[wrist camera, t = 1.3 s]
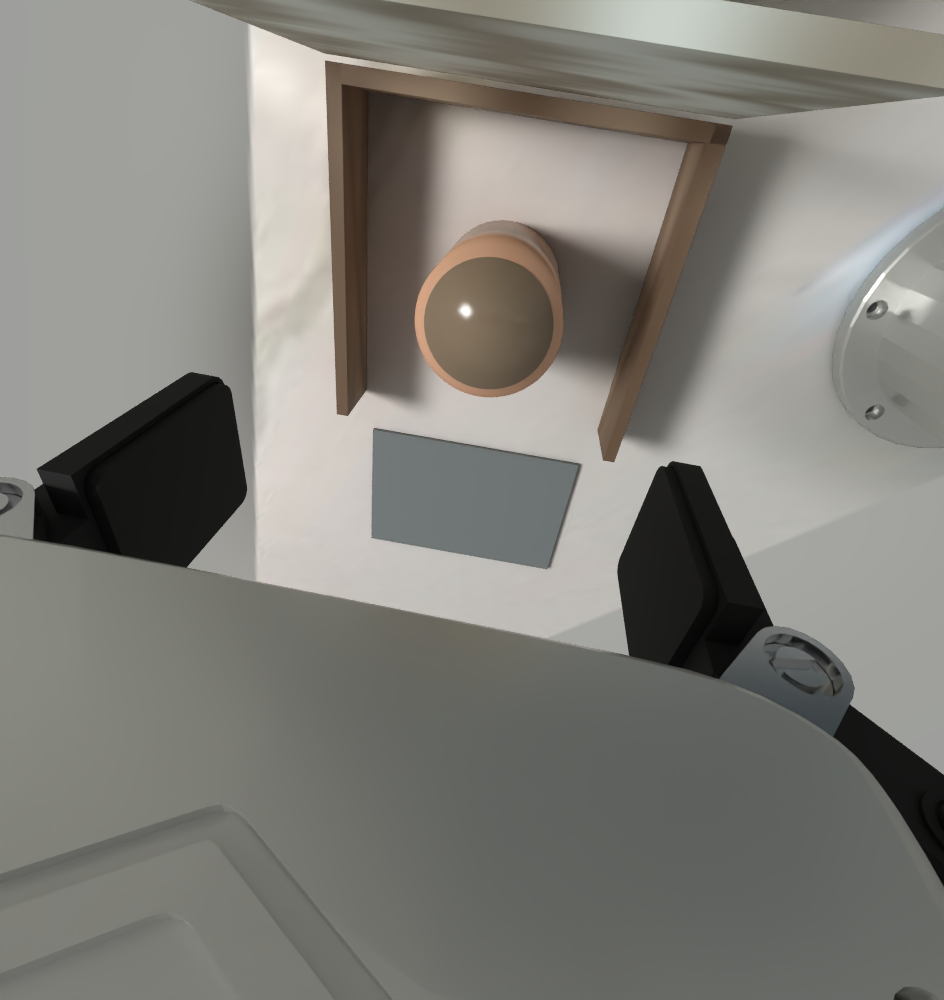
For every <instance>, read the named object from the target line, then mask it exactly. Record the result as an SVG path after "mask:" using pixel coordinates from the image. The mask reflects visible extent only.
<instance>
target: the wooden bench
mask: <svg viewBox="0 0 944 1000" xmlns="http://www.w3.org/2000/svg"><path fill="white" fill-rule="evenodd" d="M191 1H193V2H195V3H198V4H201V5H203V6H206V7H208V8H211V9H213V10H216V11H218V12H221V13H224V14H226V15H228V16H231V17H234V18H236V19H239V20H241V21H244V22H246V23H249V24H251V25H254V26H256V27H259V28H261V29H264V30H267V31H269V32H272V33H274V34H277V35H279V36H282V37H284V38H287V39H289V40H292V41H295V42H297V43H300V44H302V45H305V46H307V47H310V48H312V49H315V50H317V51H320V52H322V53H325V54H331V55H338V56H344V57H350V58H356V59H363V60H369V61H375V62H381V63H388V64H394V65H400V66H406V67H413V68H419V69H425V70H431V71H438V72H444V73H450V74H456V75H463V76H469V77H475V78H481V79H488V80H494V81H500V82H506V83H513V84H519V85H525V86H531V87H538V88H544V89H550V90H556V91H563V92H569V93H575V94H581V95H588V96H594V97H600V98H606V99H613V100H619V101H625V102H631V103H638V104H644V105H650V106H656V107H663V108H669V109H675V110H681V111H688V112H694V113H700V114H706V115H713V116H719V117H725V118H732V119H740V118H749V117H758V116H767V115H776V114H785V113H794V112H804V111H813V110H822V109H831V108H840V107H849V106H858V105H867V104H876V103H885V102H894V101H903V100H912V99H921V98H930V97H939V96H944V35H943V34H936V33H930V32H923V31H917V30H910V29H904V28H898V27H891V26H885V25H878V24H872V23H865V22H859V21H853V20H846V19H840V18H833V17H827V16H820V15H814V14H807V13H801V12H795V11H788V10H782V9H775V8H769V7H762V6H756V5H750V4H743V3H737V2H730V1H724V0H191ZM325 71H326V100H327V130H328V160H329V190H330V220H331V250H332V280H333V310H334V339H335V369H336V399H337V414H340V415H346V416H348V415H349V414H350V412H351V411H352V409H353V408H354V407H355V405H356V404H357V402H358V401H359V400H360V398H361V397H362V395H363V394H364V393H365V391H366V367H367V165H368V91H369V92H376V93H382V94H388V95H394V96H400V97H407V98H413V99H419V100H425V101H431V102H438V103H444V104H450V105H456V106H463V107H469V108H475V109H481V110H487V111H494V112H500V113H506V114H512V115H518V116H525V117H531V118H537V119H543V120H549V121H556V122H562V123H568V124H574V125H580V126H587V127H593V128H599V129H605V130H611V131H618V132H624V133H630V134H636V135H642V136H649V137H655V138H661V139H667V140H673V141H680V142H686V143H688V145H687V148H686V151H685V154H684V157H683V161H682V164H681V167H680V170H679V173H678V176H677V180H676V183H675V186H674V189H673V192H672V195H671V199H670V202H669V205H668V208H667V211H666V215H665V218H664V221H663V224H662V227H661V230H660V234H659V237H658V240H657V243H656V246H655V249H654V253H653V256H652V259H651V262H650V265H649V268H648V272H647V275H646V278H645V281H644V284H643V288H642V291H641V294H640V297H639V300H638V303H637V307H636V310H635V313H634V316H633V319H632V322H631V326H630V329H629V332H628V335H627V338H626V341H625V345H624V348H623V351H622V354H621V357H620V360H619V364H618V367H617V370H616V373H615V376H614V380H613V383H612V386H611V389H610V392H609V395H608V399H607V402H606V405H605V408H604V411H603V414H602V418H601V421H600V424H599V427H598V435H599V440H600V446H601V451H602V457H603V460H604V461H610V462H614V461H615V458H616V456H617V453H618V450H619V447H620V444H621V441H622V439H623V436H624V433H625V430H626V427H627V424H628V422H629V419H630V416H631V413H632V410H633V407H634V405H635V402H636V399H637V396H638V393H639V390H640V388H641V385H642V382H643V379H644V376H645V373H646V370H647V368H648V365H649V362H650V359H651V356H652V353H653V351H654V348H655V345H656V342H657V339H658V336H659V334H660V331H661V328H662V325H663V322H664V319H665V317H666V314H667V311H668V308H669V305H670V302H671V300H672V297H673V294H674V291H675V288H676V285H677V283H678V280H679V277H680V274H681V271H682V268H683V266H684V263H685V260H686V257H687V254H688V251H689V249H690V246H691V243H692V240H693V237H694V234H695V232H696V229H697V226H698V223H699V220H700V217H701V214H702V212H703V209H704V206H705V203H706V200H707V197H708V195H709V192H710V189H711V186H712V183H713V180H714V178H715V175H716V172H717V169H718V166H719V163H720V161H721V158H722V155H723V152H724V149H725V146H726V144H727V141H728V138H729V135H730V132H731V129H732V127H733V126H730V125H724V124H718V123H711V122H705V121H699V120H693V119H687V118H680V117H674V116H668V115H662V114H655V113H649V112H643V111H637V110H630V109H624V108H618V107H612V106H605V105H599V104H593V103H587V102H580V101H574V100H568V99H562V98H555V97H549V96H543V95H537V94H531V93H524V92H518V91H512V90H506V89H499V88H493V87H487V86H481V85H474V84H468V83H462V82H456V81H449V80H443V79H437V78H431V77H424V76H418V75H412V74H406V73H399V72H393V71H387V70H381V69H375V68H368V67H362V66H356V65H350V64H343V63H337V62H331V61H325Z"/></svg>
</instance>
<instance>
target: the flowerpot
mask: <svg viewBox="0 0 944 1000" xmlns="http://www.w3.org/2000/svg"><path fill="white" fill-rule="evenodd" d="M415 330H416V336H417V340H418V344H419V347H420V349H421V352H422V354H423V356H424V358H425V359H426V361H427V363H428V364H429V365H430V367H431V368H432V370H433V371H434V372H435V373H436V374H437V375H438V376H439V377H440V378H441V379H443V380H444V381H445V382H446V383H448V384H449V385H451V386H452V387H454V388H456V389H458V390H460V391H462V392H465V393H468V394H471V395H475V396H481V397H500V396H506V395H510V394H513V393H516V392H518V391H521V390H523V389H525V388H526V387H528V386H530V385H531V384H533V383H534V382H535V381H537V380H538V379H539V378H540V377H541V376H542V375H543V374H544V373H545V372H546V371H547V369H548V368H549V367H550V365H551V364H552V362H553V361H554V359H555V357H556V355H557V353H558V350H559V348H560V344H561V341H562V336H563V330H564V316H563V306H562V296H561V286H560V276H559V269H558V265H557V262H556V259H555V256H554V254H553V252H552V250H551V248H550V247H549V246H548V244H547V243H546V241H545V240H544V239H543V238H542V237H541V236H540V235H539V234H538V233H536V232H535V231H534V230H532V229H530V228H529V227H527V226H525V225H522V224H520V223H517V222H513V221H504V220H500V221H491V222H487V223H484V224H481V225H479V226H477V227H475V228H473V229H471V230H470V231H469V232H467V233H466V234H465V235H464V236H463V237H462V238H461V239H460V240H459V241H458V242H457V243H456V244H455V245H454V246H453V248H452V249H451V250H450V251H449V252H448V253H447V255H446V256H445V257H444V258H443V259H442V260H441V261H440V263H439V264H438V265H437V266H436V267H435V268H434V270H433V271H432V272H431V273H430V275H429V276H428V277H427V279H426V281H425V283H424V284H423V286H422V288H421V291H420V293H419V296H418V300H417V304H416V310H415Z"/></svg>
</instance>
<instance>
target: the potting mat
mask: <svg viewBox="0 0 944 1000" xmlns="http://www.w3.org/2000/svg"><path fill="white" fill-rule="evenodd" d="M578 466H579V464H577V463H571V462H565V461H560V460H554V459H548V458H542V457H537V456H531V455H525V454H519V453H514V452H508V451H502V450H496V449H491V448H485V447H479V446H474V445H468V444H462V443H456V442H451V441H445V440H439V439H433V438H428V437H422V436H416V435H410V434H405V433H399V432H393V431H387V430H382V429H376V428H374V429H373V474H372V538H375V539H381V540H386V541H392V542H397V543H403V544H409V545H414V546H420V547H425V548H431V549H437V550H442V551H448V552H453V553H459V554H465V555H470V556H476V557H481V558H487V559H493V560H498V561H504V562H509V563H515V564H521V565H526V566H532V567H537V568H543V569H547V568H548V565H549V562H550V558H551V555H552V552H553V548H554V545H555V542H556V539H557V535H558V532H559V529H560V525H561V522H562V519H563V516H564V512H565V509H566V506H567V502H568V499H569V496H570V493H571V489H572V486H573V483H574V479H575V476H576V473H577V470H578Z"/></svg>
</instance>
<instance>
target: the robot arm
mask: <svg viewBox="0 0 944 1000" xmlns="http://www.w3.org/2000/svg"><path fill="white" fill-rule="evenodd" d="M871 304H872V306H871V307H870V308H869V306H870V305H871ZM868 308H869V309H868ZM832 373H833V381H834V385H835V388H836V392H837V395H838V398H839V399H840V401H841V402H842V404H843V406H844V407H845V409H846V410H847V412H848V413H849V414H850V415H851V416H852V417H853V418H854V419H855V420H856V421H857V422H858V423H859V424H860V425H861V426H863V427H864V428H866V429H867V430H869V431H870V432H872V433H873V434H875V435H876V436H878V437H880V438H883V439H885V440H888V441H891V442H893V443H896V444H901V445H906V446H912V447H918V448H944V208H943V209H941V210H940V211H939V212H937V213H936V214H935V215H933V216H932V217H931V218H929V219H928V220H926V221H925V222H924V223H922V224H921V225H920V226H918V227H917V228H916V229H914V230H913V231H911V232H910V233H909V234H908V235H907V236H906V237H905V238H904V239H903V240H902V241H901V242H900V243H898V244H897V245H896V246H895V247H894V248H893V249H892V250H891V251H890V252H889V253H888V254H887V255H886V256H885V257H884V258H883V259H882V260H881V261H880V263H879V264H878V265H877V266H876V268H875V269H874V270H873V271H872V272H871V274H870V275H869V276H868V277H867V278H866V280H865V281H864V282H863V283H862V285H861V287H860V288H859V290H858V292H857V293H856V295H855V297H854V298H853V300H852V302H851V303H850V305H849V306H848V308H847V310H846V313H845V315H844V318H843V320H842V322H841V325H840V327H839V330H838V332H837V336H836V341H835V345H834V350H833V355H832ZM37 471H38V473H39V475H40V477H41V480H42V482H43V484H42V485H41V486H40V487H38V488H36V489H35V490H34V488H33V486H32V485H30V484H29V483H27V482H26V481H24V480H20V479H16V478H7V477H0V1000H944V775H943V774H942V773H941V772H939V771H938V770H937V769H935V768H934V767H932V766H931V765H930V764H929V763H927V762H926V761H924V760H923V759H922V758H920V757H919V756H918V755H916V754H915V753H914V752H912V751H911V750H910V749H908V748H907V747H906V746H904V745H903V744H902V743H900V742H899V741H898V740H896V739H895V738H894V737H892V736H891V735H890V734H888V733H887V732H885V731H884V730H883V729H882V728H880V727H879V726H877V725H876V724H875V723H874V722H872V721H871V720H870V719H868V718H867V717H866V716H864V715H863V714H862V713H860V712H859V711H858V710H856V709H855V708H854V707H852V706H851V705H850V702H851V700H852V698H853V694H854V684H853V681H852V677H851V675H850V673H849V672H848V670H847V669H846V667H845V666H844V664H843V663H842V662H841V661H840V659H839V658H838V657H837V656H836V655H835V654H834V653H833V652H832V651H831V650H829V649H828V648H827V647H825V646H824V645H823V644H821V643H820V642H819V641H817V640H815V639H813V638H811V637H810V636H808V635H806V634H804V633H802V632H799V631H796V630H793V629H790V628H786V627H779V626H773V624H772V622H771V619H770V617H769V615H768V613H767V610H766V608H765V606H764V604H763V602H762V599H761V597H760V595H759V593H758V591H757V589H756V586H755V584H754V582H753V580H752V577H751V575H750V573H749V570H748V568H747V566H746V564H745V562H744V559H743V557H742V555H741V553H740V550H739V548H738V546H737V544H736V542H735V540H734V538H733V537H732V535H731V532H730V530H729V528H728V526H727V524H726V521H725V519H724V517H723V515H722V512H721V510H720V508H719V506H718V503H717V501H716V499H715V497H714V495H713V492H712V490H711V488H710V486H709V483H708V481H707V479H706V477H705V474H704V472H703V470H702V468H701V467H700V466H696V465H690V464H685V463H679V462H674V461H672V462H670V463H669V465H668V466H667V467H664V466H661V467H659V468H658V470H657V472H656V474H655V476H654V479H653V481H652V484H651V486H650V488H649V491H648V493H647V495H646V498H645V500H644V502H643V505H642V507H641V509H640V512H639V514H638V517H637V519H636V521H635V524H634V526H633V528H632V531H631V533H630V535H629V538H628V540H627V543H626V545H625V547H624V550H623V552H622V554H621V557H620V559H619V563H618V571H617V573H618V581H619V588H620V595H621V602H622V609H623V616H624V622H625V630H626V637H627V644H628V650H629V656H627V655H623V654H618V653H614V652H609V651H604V650H599V649H594V648H589V647H584V646H579V645H574V644H569V643H564V642H560V641H555V640H550V639H545V638H540V637H535V636H530V635H525V634H520V633H515V632H510V631H505V630H500V629H495V628H490V627H485V626H480V625H475V624H470V623H465V622H460V621H455V620H450V619H445V618H440V617H435V616H430V615H425V614H420V613H415V612H410V611H405V610H400V609H395V608H390V607H385V606H380V605H375V604H370V603H364V602H359V601H354V600H349V599H344V598H339V597H334V596H329V595H324V594H319V593H314V592H308V591H303V590H298V589H293V588H288V587H283V586H278V585H273V584H268V583H263V582H257V581H252V580H247V579H242V578H237V577H232V576H226V575H222V574H217V573H212V572H206V571H201V570H196V569H190V568H187V566H188V565H189V564H190V563H191V562H192V560H193V559H194V558H195V557H196V556H197V555H198V554H199V553H200V551H201V550H202V549H203V548H204V547H205V545H206V544H207V543H208V542H209V541H210V540H211V539H212V537H213V536H214V535H215V534H216V533H217V532H218V530H219V529H220V528H221V527H222V526H223V525H224V524H225V522H226V521H227V520H228V519H229V518H230V517H231V515H232V514H233V513H234V512H235V511H236V510H237V508H238V507H239V506H240V505H241V504H242V503H243V501H244V499H245V497H246V492H247V484H246V478H245V472H244V467H243V460H242V454H241V448H240V441H239V435H238V430H237V423H236V417H235V411H234V405H233V399H232V393H231V390H230V388H229V387H228V386H227V385H224V383H223V381H222V380H221V379H220V378H219V377H215V376H209V375H204V374H198V373H193V372H191V373H188V374H186V375H184V376H183V377H181V378H180V379H178V380H176V381H175V382H173V383H172V384H170V385H169V386H167V387H165V388H164V389H163V390H161V391H159V392H158V393H156V394H154V395H153V396H151V397H150V398H148V399H147V400H145V401H143V402H142V403H140V404H139V405H137V406H135V407H134V408H132V409H131V410H129V411H128V412H126V413H124V414H123V415H122V416H120V417H118V418H116V419H115V420H114V421H112V422H110V423H109V424H107V425H105V426H104V427H102V428H101V429H99V430H98V431H96V432H94V433H93V434H91V435H90V436H88V437H86V438H85V439H83V440H82V441H80V442H79V443H77V444H75V445H74V446H72V447H71V448H69V449H68V450H66V451H64V452H63V453H61V454H60V455H58V456H57V457H55V458H53V459H52V460H50V461H49V462H47V463H45V464H44V465H42V466H41V467H39V468H38V469H37Z"/></svg>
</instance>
